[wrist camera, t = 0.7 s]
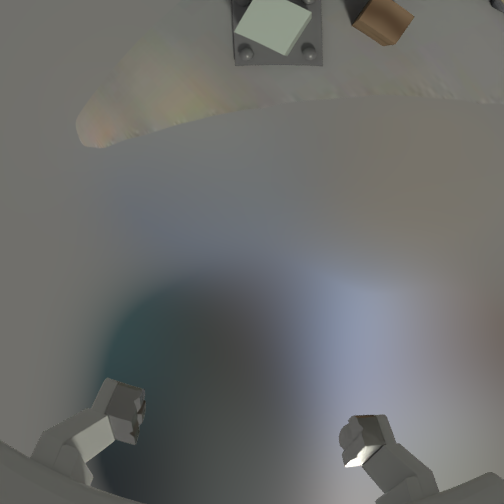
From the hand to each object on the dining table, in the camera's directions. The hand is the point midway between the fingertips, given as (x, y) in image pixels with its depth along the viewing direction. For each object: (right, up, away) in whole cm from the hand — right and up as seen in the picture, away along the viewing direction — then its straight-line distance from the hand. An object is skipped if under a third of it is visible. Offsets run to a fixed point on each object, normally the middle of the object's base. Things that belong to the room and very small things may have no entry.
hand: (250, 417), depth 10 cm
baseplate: (+4, +42, +27) cm, 50 cm away
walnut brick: (+20, +43, +23) cm, 52 cm away
